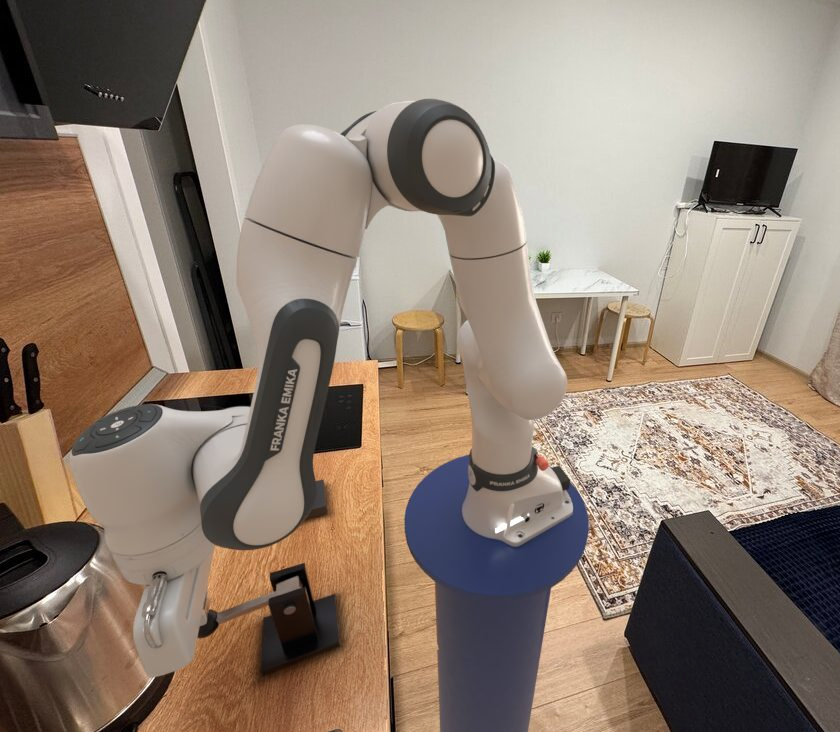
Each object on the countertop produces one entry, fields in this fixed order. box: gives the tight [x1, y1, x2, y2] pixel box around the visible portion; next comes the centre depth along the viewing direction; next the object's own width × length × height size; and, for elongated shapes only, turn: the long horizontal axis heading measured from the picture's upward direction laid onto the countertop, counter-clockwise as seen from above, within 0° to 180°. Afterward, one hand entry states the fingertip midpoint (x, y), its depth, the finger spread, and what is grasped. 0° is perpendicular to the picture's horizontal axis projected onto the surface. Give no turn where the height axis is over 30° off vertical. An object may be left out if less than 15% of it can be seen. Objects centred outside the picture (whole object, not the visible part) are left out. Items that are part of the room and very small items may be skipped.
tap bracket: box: [259, 562, 341, 677], centre depth 59 cm, size 10×8×12 cm
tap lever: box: [197, 576, 303, 639], centre depth 56 cm, size 13×3×3 cm, turn 115°
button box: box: [304, 478, 329, 521], centre depth 82 cm, size 10×8×4 cm
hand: (201, 616), depth 53 cm, fingers closed, pressing on tap lever
